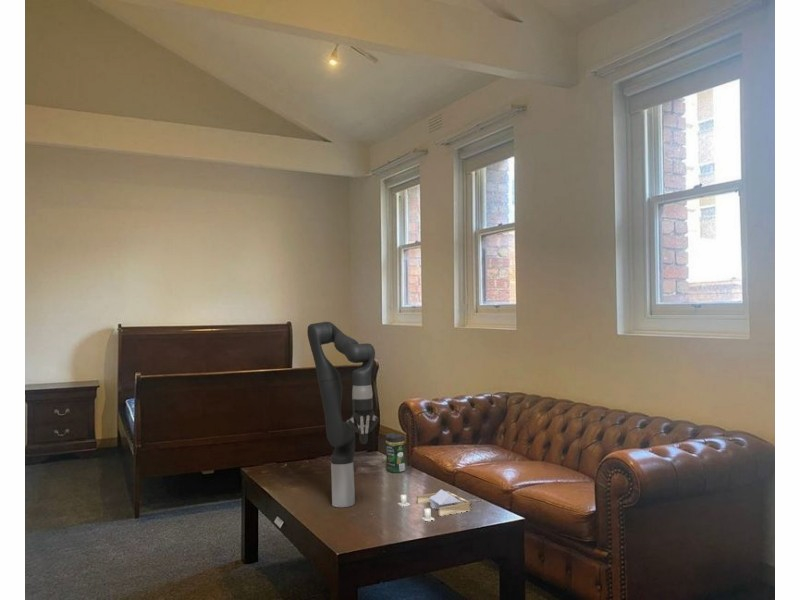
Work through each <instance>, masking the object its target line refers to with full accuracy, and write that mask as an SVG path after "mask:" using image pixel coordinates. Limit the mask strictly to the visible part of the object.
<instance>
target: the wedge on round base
mask: <svg viewBox="0 0 800 600" xmlns="http://www.w3.org/2000/svg"><path fill="white" fill-rule="evenodd" d="M445 491H446V490H443V489H440V490H438V493H437V492H436V493H437V494H436V495H433V496H431V497H430V502H429V505H430V506H431V507H432V508H431V507H430V506H429V507H430V508H431V509H434V508H435V509H434V510H438V508H440V507H446V506H451V505H454V504H455V503H456V502H461V501H459V500H458V499H456V498H455V497H453V496H452V495H450V494H449V493H447V492H445Z"/></svg>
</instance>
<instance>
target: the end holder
mask: <svg viewBox="0 0 800 600" xmlns="http://www.w3.org/2000/svg"><path fill="white" fill-rule="evenodd" d="M444 491H445V492H447V493H449V494H450V495H452V496H453V497H455V498H456V499H458V500H459V501H461V502H456V503H454V504H453V505H451V506H446V507H440V508H438V509H437V513H438V514H437V515H439V516H441V517H445V516H444V515H446V516H450V515H449V514H452V515H456V513H457V514H462V513H467V512H466V511H468V512H472V511H473V502H471V501H469V500H467V499H465V498H462V497H461V496H459V495H456V494H455V493H452V492H450V491H448V490H444ZM438 492H439V491H438ZM438 492H431V493H426V494H420V495H416V504H417V505H420V504H421V505H422V504H426V503H427V502H428V503H430V497H431V496H433V495H436V494H437V493H438ZM471 510H472V511H471ZM461 512H462V513H461ZM439 516H438V517H439Z"/></svg>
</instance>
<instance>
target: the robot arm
mask: <svg viewBox="0 0 800 600" xmlns="http://www.w3.org/2000/svg"><path fill="white" fill-rule="evenodd" d="M306 334H307V338H308V343H309V346H310V349H311V351H310V352H311V353H312V357H313V361H314V366H315V370H316V371H315V372H316V375H317V382H318V388H319V391H320V393H319V394H320V397H321V402H322V403H321V404H322V408H323V413H324V419H325V421H324V422H325V433H326V438H327V441H328V443H329V444H330V446H332V447H333V448H334V449H333V452H332V453H331V455H330V472H331V475H330V476H331V477H330V478H331V506H333V507H336V508H347V507H352V506H354V505H355V504H356V502H355V500H356V499H355V469H354V468H355V467H354V457H355V453H356V433H357V434H358V436H359V439H358V440H359V443H360V444H361V445H365V444H366V445H367V443H368V442H369V436H368V435H369V433H370V432H373V430H374V429H375V427H376V426H377V424H378V423H379V421H380V417H378V416H376V415H375V413H374V411H373V409H374V408H373V405H374V403H373V394H374V393H373V387H372V371H373V367H374V363H375V358H376V349H375V347H374V346H373V345H372V344H371V343H366V342H365V343H359V342H358V341H357V340H356V339H354V338H352V337H350V336H348V335H346V334H345V333H343V332H342V330H341V329H340V328H338V327H337V326H336V325H335V324H334V323H332V322H330V321H323V322H315V323H310V324H309V325H308V326H307V333H306ZM331 343H332V344H333V345H334V348H335V349H336V351H338V352H339V353H341V354H342V355H344V356H345V358H346V359H347V361H348V362H350V363H354V364H359V363H361V366H360V367H359V368H355V369H354V370H353V371H352V374H351V377H352V390H351V399H352V401H351V402H352V413H351V417H350V418H349V419H346V421H344V420H343V416H342V411H341V409H342V408H341V406H342V399H343V386H342V385H343V383H342V379H341V375H340V372H339V371H338V369H337V368H336V367H335V366H334V365H333V364H332V362H331V361H330V360H329V359H328V358H327V356H326V355H325V352H324V350H323V347H322V345H326V344H327V345H328V344H331ZM355 423H356V424H357V426H356V424H355Z"/></svg>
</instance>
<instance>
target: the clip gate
mask: <svg viewBox="0 0 800 600" xmlns="http://www.w3.org/2000/svg"><path fill="white" fill-rule="evenodd" d="M407 497H408V496H407V494H406V493H402V494H400V502H397V505H398V506H400V507H401V508H402V507H403V506H404V507H407V506H409V505H410V506H411V504H410V503H409V502H407V501H408V499H407ZM431 509H432V508H431V507H425V508H424V516H423V517H421V520H422V521H424V522H425V521H428V522H432V521H431V520H433V521H435V518H434V517H432V510H431Z"/></svg>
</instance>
